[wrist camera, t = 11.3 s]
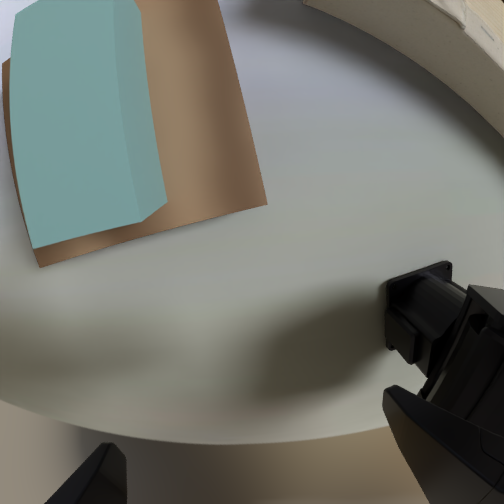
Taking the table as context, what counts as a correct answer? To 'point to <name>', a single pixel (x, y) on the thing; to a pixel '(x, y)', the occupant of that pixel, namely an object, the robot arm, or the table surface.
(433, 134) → the table surface
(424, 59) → the box
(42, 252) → the stand
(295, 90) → the table surface
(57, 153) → the block
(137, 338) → the table surface
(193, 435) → the table surface
